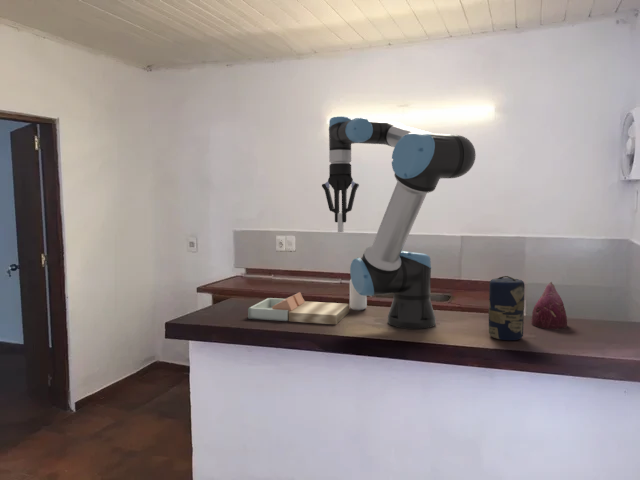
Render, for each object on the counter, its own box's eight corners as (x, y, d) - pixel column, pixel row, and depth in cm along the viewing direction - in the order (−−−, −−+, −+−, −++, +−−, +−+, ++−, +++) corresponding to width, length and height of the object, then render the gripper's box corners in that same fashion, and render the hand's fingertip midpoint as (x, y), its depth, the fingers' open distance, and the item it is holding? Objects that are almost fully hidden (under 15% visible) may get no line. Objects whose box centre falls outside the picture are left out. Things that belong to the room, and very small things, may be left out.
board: (348, 312, 183) (348, 303, 183) (336, 324, 166) (336, 315, 166) (305, 309, 188) (305, 301, 187) (288, 321, 170) (288, 312, 170)
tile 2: (304, 302, 185) (299, 292, 185) (299, 305, 179) (294, 295, 179) (290, 308, 187) (285, 298, 187) (284, 312, 181) (280, 301, 181)
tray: (304, 309, 188) (304, 299, 187) (287, 321, 170) (287, 310, 170) (268, 307, 192) (268, 297, 191) (248, 318, 174) (248, 308, 174)
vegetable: (536, 329, 170) (534, 284, 173) (570, 330, 164) (567, 283, 167) (527, 328, 162) (525, 280, 165) (563, 329, 156) (560, 279, 159)
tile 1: (297, 306, 177) (292, 296, 178) (291, 310, 172) (286, 299, 172) (283, 313, 179) (278, 303, 179) (276, 317, 173) (271, 306, 174)
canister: (504, 344, 143) (506, 279, 142) (481, 335, 152) (482, 274, 150) (530, 340, 147) (532, 277, 146) (506, 332, 156) (507, 272, 154)
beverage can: (346, 309, 188) (346, 276, 187) (356, 306, 193) (356, 274, 191) (359, 311, 184) (359, 278, 183) (370, 308, 188) (370, 276, 187)
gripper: (360, 163, 180) (361, 231, 182) (324, 164, 183) (324, 231, 185) (357, 162, 173) (357, 232, 174) (319, 163, 176) (319, 232, 178)
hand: (340, 231), depth 180 cm, fingers closed
